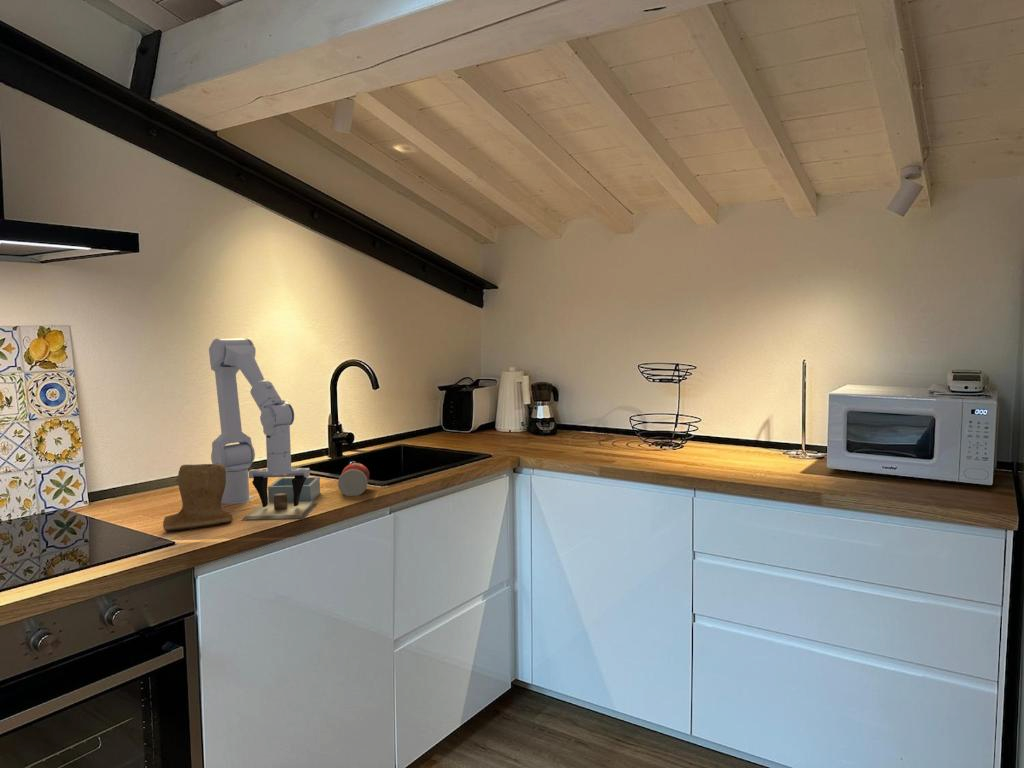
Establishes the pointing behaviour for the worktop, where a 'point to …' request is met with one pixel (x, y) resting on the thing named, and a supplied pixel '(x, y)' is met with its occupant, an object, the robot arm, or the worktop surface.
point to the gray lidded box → (285, 486)
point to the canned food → (353, 479)
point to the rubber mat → (285, 518)
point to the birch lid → (280, 509)
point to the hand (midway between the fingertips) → (280, 505)
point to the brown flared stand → (199, 497)
